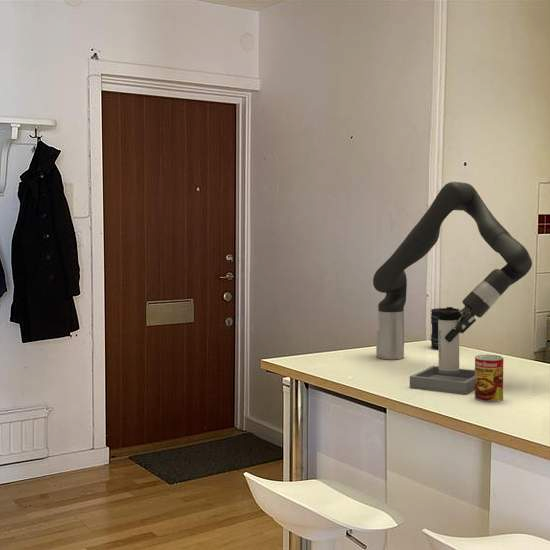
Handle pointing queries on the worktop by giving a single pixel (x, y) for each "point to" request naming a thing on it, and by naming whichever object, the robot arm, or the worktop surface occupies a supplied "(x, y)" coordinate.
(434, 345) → the storage jar
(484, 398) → the canned food
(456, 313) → the travel mug
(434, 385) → the grey tray
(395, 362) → the worktop surface
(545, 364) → the worktop surface
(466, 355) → the worktop surface
